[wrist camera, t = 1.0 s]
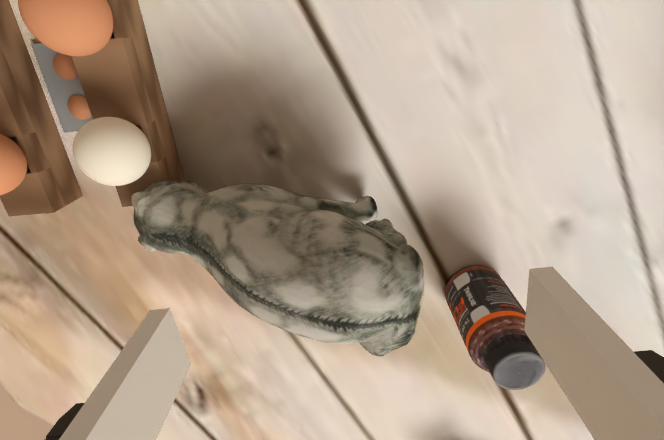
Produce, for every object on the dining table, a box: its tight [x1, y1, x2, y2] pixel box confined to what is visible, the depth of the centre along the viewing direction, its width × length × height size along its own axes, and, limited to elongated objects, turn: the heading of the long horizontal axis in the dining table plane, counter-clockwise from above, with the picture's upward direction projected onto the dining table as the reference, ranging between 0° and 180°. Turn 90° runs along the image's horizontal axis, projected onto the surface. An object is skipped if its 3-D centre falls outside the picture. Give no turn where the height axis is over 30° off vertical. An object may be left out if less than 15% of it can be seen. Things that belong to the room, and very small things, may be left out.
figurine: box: [131, 181, 424, 356], centre depth 29 cm, size 10×19×20 cm
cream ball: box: [73, 117, 151, 186], centre depth 28 cm, size 5×5×5 cm
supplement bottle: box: [445, 266, 545, 390], centre depth 35 cm, size 6×6×11 cm
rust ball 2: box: [18, 0, 113, 56], centre depth 25 cm, size 5×5×5 cm
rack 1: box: [0, 0, 82, 216], centre depth 31 cm, size 19×4×4 cm, turn 5°
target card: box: [31, 43, 93, 132], centre depth 32 cm, size 7×4×1 cm, turn 5°
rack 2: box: [72, 0, 185, 207], centre depth 30 cm, size 19×4×4 cm, turn 5°
